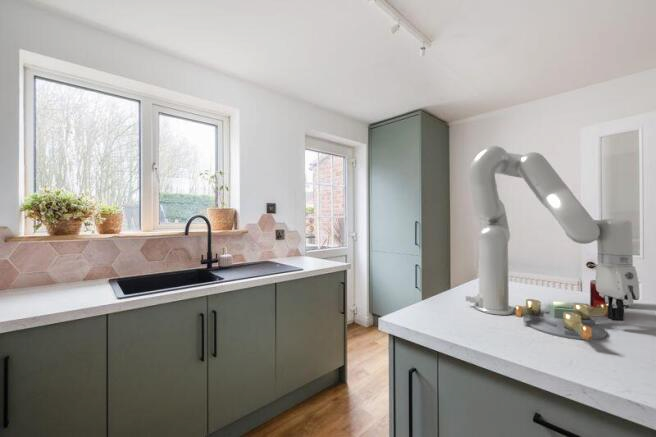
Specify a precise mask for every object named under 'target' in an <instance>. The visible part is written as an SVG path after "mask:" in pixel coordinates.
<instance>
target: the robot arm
mask: <svg viewBox="0 0 656 437" xmlns="http://www.w3.org/2000/svg"><path fill="white" fill-rule="evenodd" d="M468 172H469V174H468V176H469V185H470V190H471V191H470V192H471V197H472V202H473V211H474V213H475V216H476V218H478V219H479V224H480V228H481V229H480V230H479V232H478V234H477V240H476V242H477V243H476V244H477V251H478V252H477V254H478V255H477V256H478V293H477V295H474V296H470V295H469V296H468V295H465V302H469V303H472V304H473V305H474V308H475V309H476V310H478V311H480V312H482V313H486V314H492V315H498V316H499V315H501V316H505V315H506V316H507V315H508V316H509V315H511V314H514V312H515V310H514V308H513V307H512V306H511V305H510V303H509V295H510V294H509V242H510V238H511V232H510V228H509V222H508V217H507V212H506V208H505V204H504V203H503V201H502V200H501V199H500V196H499V190H498V186H497V182H496V181H497V180H496V174H498V175H504V176H509V177H513V178H521V179H523V180H524V182H525V183H526V185H527V186H528V188H529V189H530V190H531V191H532V192H533V194H534V195H535V196H536V198H537V200H538V201H539V202H540V203H541V204H542V205H543V206H544V207H545V208H546V209H547V210H548V211H549V212H550V213H551V214H552V216H553V217H554V219H555V220H556V221H557V222H558V224H559V226H560V227H561V228H562V229H563V231H564V233H565V235H566V236H567V238H568V239H570V240H571V241H573V242H574V243H577V244H580V245H581V244H584V245H585V244H586V245H587V244H590V243H593V242H595V241H596V242H597V243H596V244H597V247H596V248H597V265H596V270H595V280H596V290H597V291H598V292H599V295H600V296H601V297H603V298H604V299H605V303H606V305H607V314H608V316H607V319H608V320H611V321H612V322H624V321H625V313H624V312H625V310H624V309H627V308H626V305H629V306H634V305H635V302H634V301H637V300H640V284H639V283H640V282H639V276H638V272H637V270H636V267H635V266H634V261H633V259H634V257H633V224H632V221H630V220H629V219H626V218H617V219H616V218H609V219H608V218H607V219H605V218H604V219H600V220H599V219H594V218H593V217H592V216H591V215H590V213H589V212H588V211H587V210H586V208H585V207H584V206H583V205H582V203H581V202H580V201H579V199H578V198H577V197H576V196H575V194H574V193H573V192H572V190H571V189H570V188H569V186H568V185H567V184H566V182H565V181H564V180H563V179H562V178H561V176H560V175H559V174H558V172H556V170H555V169H554V167H553V166H552V165H551V163H549V161H548V160H547V158H546V157H545V156H544V155H543V154H541V153H539V152H534V151H533V152H528V153H525V154H520V153H519V154H518V153H512V152H507V151H506V150H505V149H504V148H503V147H501V146H498V145H491V146H488V147H485V148H484V149H482V150H481V151H480V152H479V153H477V155H476V156H475V157H474V158H473V160H472V162H471V165H470V168H469V171H468Z"/></svg>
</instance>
